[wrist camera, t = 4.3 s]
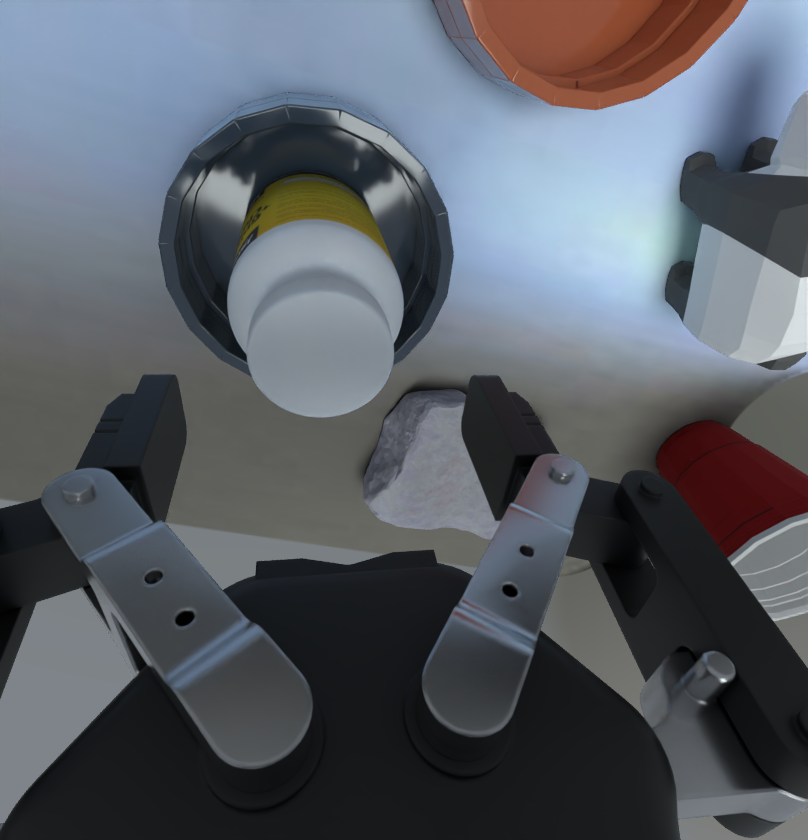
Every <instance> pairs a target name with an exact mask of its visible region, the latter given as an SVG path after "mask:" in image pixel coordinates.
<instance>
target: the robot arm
mask: <svg viewBox="0 0 808 840" xmlns="http://www.w3.org/2000/svg"><path fill="white" fill-rule="evenodd" d="M461 433H462V438H463V441H464V443H465V446H466V448H467V451H468V453H469V456H470V459H471V461H472V464H473V466H474V469H475V471H476V474H477V476H478V479H479V481H480V484H481V486H482V489H483V491H484V494H485V496H486V499H487V501H488V504H489V507H490V509H491V512H492V514H493V517H494V519H495V521H501V522H500V524H499V526H498V528H497V530H496V532H495V534H494V536H493V537H492V539H491V541H490V543H489V545H488V547H487V549H486V551H485V553H484V555H483V557H482V559H481V561H480V563H479V565H478V567H477V569H476V571H475V573H474V575H473V576H472V575H470V574H468V573H466V572H464V571H462V570H460V569H457V568H455V567H452V566H448V565H444V564H440V563H437V561H436V557H435V553H434V550H422V551H407V552H392V553H389V554H386V555H382V556H379V557H375V558H372V559H369V560H366V561H362V562H359V563H355V564H351V565H343V564H336V563H330V562H323V561H316V560H308V559H288V560H272V561H257V563H256V575H255V576H253V577H249V578H247V579H244V580H242V581H239V582H237V583H235V584H233V585H231V586H229V587H227V588H226V589H224V590H222V589H221V588H220V587H219V585H218V584H217V583H216V582H215V581H214V580H213V578H212V577H211V576H210V575H209V574H208V573H207V571H206V570H205V569H204V568H203V567H202V565H201V564H200V563H199V562H198V561H197V559H196V558H195V557H194V556H193V555H192V554H191V552H190V551H189V550H188V549H187V548H186V547H185V545H184V544H183V543H182V542H181V541H180V539H178V537H177V536H176V535H175V534H174V532H173V531H172V530H171V529H170V528H169V527H168V525H167V524H166V523H165V520H166V516H167V513H168V509H169V505H170V501H171V498H172V494H173V490H174V486H175V483H176V479H177V475H178V471H179V468H180V464H181V460H182V456H183V453H184V449H185V445H186V436H187V430H186V420H185V415H184V410H183V405H182V399H181V394H180V389H179V384H178V380H177V377H176V375H143V376H142V378H141V380H140V383H139V385H138V387H137V390H136V392H135V394H121V395H120V396H119V397H117V398H116V399H115V400H114V401H112V402H111V403H110V404H109V405H107V407H106V409H105V411H104V413H103V415H102V417H101V419H100V422H99V423H98V425H97V427H96V429H95V433H93V435H92V437H91V439H90V441H89V443H88V445H87V447H86V449H85V451H84V453H83V455H82V457H81V459H80V461H79V463H78V465H77V467H76V469H75V470H74V471H71V472H68V473H66V474H64V475H62V476H60V477H58V478H56V479H55V480H54V481H52V482H51V483H50V484H49V485H48V486H47V487H46V488H45V490H44V491H43V494H42V497H41V498H39V499H36V500H33V501H29V502H25V503H21V504H18V505H13V506H9V507H5V508H1V509H0V698H1V695H2V693H3V690H4V687H5V684H6V682H7V679H8V677H9V674H10V671H11V669H12V666H13V663H14V661H15V658H16V655H17V653H18V650H19V648H20V645H21V642H22V639H23V636H24V634H25V632H26V629H27V626H28V623H29V621H30V618H31V616H32V613H33V610H34V607H35V605H36V602H38V601H41V600H45V599H48V598H51V597H54V596H57V595H60V594H63V593H66V592H70V591H72V590H76V589H79V588H81V590H82V592H83V593H84V595H85V596H86V598H87V600H88V601H89V603H90V604H91V606H92V607H93V609H94V611H95V612H96V614H97V615H98V617H99V619H100V620H101V622H102V623H103V625H104V627H105V628H106V630H107V631H108V633H109V634H110V636H111V638H112V639H113V641H114V642H115V644H116V646H117V648H118V649H119V651H120V653H121V655H122V657H123V659H124V661H125V663H126V664H127V666H128V668H129V670H130V672H131V673H132V675H133V677H134V679H133V680H132V681H131V682H130V683H129V684H128V685H127V686H126V687H125V688H124V689H123V690H122V691H121V692H120V693H119V694H118V696H116V697H115V698H114V699H113V700H112V702H111V703H110V704H109V705H108V706H107V707H106V708H105V709H104V710H103V711H102V712H101V713H100V714H99V715H98V716H97V717H96V718H95V719H94V720H93V721H92V722H91V723H90V724H89V726H88V727H87V728H86V729H85V730H84V731H83V732H82V733H81V734H80V735H79V736H78V737H77V738H76V739H75V740H74V741H73V742H72V743H71V744H70V745H69V746H68V747H67V748H66V749H65V751H64V752H63V753H62V754H61V755H60V756H59V757H58V758H57V759H56V760H55V761H54V762H53V763H52V764H51V765H50V766H49V767H48V768H47V769H46V770H45V771H44V772H43V773H42V775H41V776H40V777H39V778H38V779H37V780H36V781H35V782H34V783H33V784H32V786H30V787H29V789H28V790H27V791H26V792H25V793H24V795H23V796H22V797H21V799H20V800H19V801H18V803H17V804H16V806H15V807H14V808H13V810H12V811H11V813H10V815H9V816H8V818H7V820H6V821H5V823H1V824H0V840H680V833H679V826H678V819H689V818H699V817H709V816H713V817H714V818H715V819H716V820H717V821H718V822H719V823H720V824H722V825H723V826H724V827H725V828H727V829H728V830H730V831H732V832H733V833H735V834H738V835H740V836H744V837H748V838H755V837H759V836H762V835H764V834H765V833H767V832H769V831H770V830H772V829H774V828H775V827H777V826H778V825H780V824H782V823H783V822H785V821H787V820H788V819H790V818H792V817H793V816H795V815H797V814H798V813H800V812H802V811H803V810H805V809H807V808H808V668H807V667H806V665H805V664H804V662H803V661H802V660H801V659H800V657H799V656H798V654H797V653H796V652H795V650H794V649H793V648H792V646H791V645H790V644H789V642H788V641H787V639H786V638H785V637H784V635H783V634H782V632H781V631H780V630H779V628H778V627H777V626H776V624H775V623H774V622H773V620H772V619H771V617H770V616H769V615H768V613H767V612H766V611H765V609H764V608H763V607H762V605H761V604H760V602H759V601H758V600H757V598H756V597H755V596H754V594H753V593H752V592H751V590H750V589H749V587H748V586H747V585H746V583H745V582H744V581H743V579H742V578H741V577H740V575H739V574H738V572H737V571H736V570H735V568H734V567H733V566H732V564H731V563H730V562H729V560H728V559H727V557H726V556H725V555H724V553H723V552H722V551H721V549H720V548H719V547H718V545H717V544H716V542H715V541H714V540H713V538H712V537H711V536H710V534H709V533H708V532H707V530H706V529H705V527H704V526H703V525H702V523H701V522H700V521H699V519H698V518H697V517H696V515H695V514H694V512H693V511H692V510H691V508H690V507H689V506H688V504H687V503H686V502H685V500H684V499H683V497H682V496H681V495H680V493H679V492H678V491H677V489H676V488H675V487H674V486H673V485H672V484H671V483H670V482H668V481H667V480H666V479H664V478H662V477H660V476H658V475H656V474H654V473H651V472H647V471H640V470H636V471H630V472H628V473H626V474H625V475H624V476H623V478H622V480H621V482H620V484H618V483H613V482H608V481H603V480H598V479H594V478H590V477H589V475H588V472H587V471H586V469H585V468H584V467H583V466H582V465H581V464H580V463H578V462H577V461H576V460H574V459H572V458H570V457H567V456H564V455H560V454H559V452H558V451H557V449H556V447H555V446H554V444H553V442H552V441H551V439H550V437H549V436H548V434H547V433H546V431H545V429H544V428H543V426H542V425H541V423H540V421H539V419H538V418H537V416H535V413H534V411H533V409H532V408H531V406H530V405H529V403H528V402H527V401H526V400H525V399H523V398H522V397H521V396H520V395H518V394H517V393H516V392H508V391H507V389H506V387H505V385H504V384H503V382H502V380H501V378H500V377H499V376H497V375H474V376H472V377H471V379H470V382H469V386H468V391H467V395H466V400H465V405H464V410H463V414H462V419H461ZM565 556H571V557H575V558H580V559H585V560H589V562H590V565H591V567H592V569H593V571H594V573H595V575H596V577H597V579H598V582H599V583H600V586H601V588H602V590H603V592H604V594H605V596H606V599H607V601H608V603H609V605H610V607H611V609H612V611H613V613H614V616H615V617H616V620H617V622H618V624H619V626H620V628H621V631H622V632H623V635H624V637H625V639H626V641H627V643H628V645H629V648H630V649H631V652H632V654H633V656H634V658H635V660H636V662H637V664H638V667H639V669H640V671H641V673H642V675H643V677H644V679H645V682H646V684H645V685H644V686H643V688H642V690H641V693H640V704H641V708H642V711H643V715H644V717H643V716H642V715H641V714H640V713H639V712H638V711H637V710H636V709H635V708H634V707H633V706H632V705H631V704H630V703H629V702H627V701H626V700H625V699H624V698H623V697H622V696H620V695H619V694H618V693H616V692H615V691H614V690H613V689H612V688H611V687H609V686H608V685H607V684H606V683H604V682H603V681H602V680H601V679H600V678H598V677H597V676H596V675H595V674H593V673H592V672H591V671H590V670H589V669H587V668H586V667H585V666H584V665H583V664H581V663H580V662H579V661H578V660H576V659H575V658H574V657H573V656H571V655H570V654H569V653H568V652H567V651H565V650H564V649H563V648H562V647H560V646H559V645H558V644H557V643H556V642H554V641H553V640H552V639H551V638H550V637H548V636H547V635H546V634H545V633H543V632H542V631H541V627H542V624H543V621H544V618H545V614H546V612H547V609H548V606H549V603H550V600H551V597H552V594H553V591H554V588H555V585H556V583H557V580H558V577H559V574H560V571H561V568H562V565H563V562H564V559H565ZM648 557H649V559H650V561H651V562H652V564H653V566H654V567H653V566H652V564H651V562H650V561H649V559H648ZM654 568H655V569H654Z"/></svg>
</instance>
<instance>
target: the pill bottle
mask: <svg viewBox="0 0 808 840" xmlns="http://www.w3.org/2000/svg"><path fill="white" fill-rule="evenodd" d="M227 308H228V316H229V321H230V325H231V328H232V331H233V333H234V335H235V337H236V340H237V342H238V343H239V345H240V346H241V348H242V349H243V351H244V352H245V353H246V355H247V362H248V366H249V370H250V373H251V376H252V378H253V380H254V382H255V383H256V385H257V386H258V388H259V389H260V390H261V392H262V393H263V394H264V395H265V396H266V397H267V398H268V399H270V400H271V401H272V402H273V403H275V404H276V405H278V406H280V407H281V408H283V409H285V410H287V411H290V412H292V413H295V414H299V415H303V416H308V417H333V416H338V415H342V414H346V413H349V412H351V411H354V410H356V409H358V408H360V407H361V406H363V405H365V404H366V403H368V402H369V401H370V400H372V399H373V398H374V397H375V396H376V395H377V394H378V393H379V392H380V390H381V389H382V388H383V386H384V385H385V383H386V381H387V380H388V378H389V376H390V373H391V370H392V366H393V361H394V342H395V340H396V339H397V336H398V333H399V331H400V328H401V324H402V319H403V310H404V300H403V292H402V287H401V283H400V280H399V277H398V274H397V271H396V269H395V266H394V264H393V262H392V259H391V257H390V254H389V252H388V249H387V247H386V245H385V242H384V240H383V237H382V235H381V233H380V231H379V228H378V226H377V224H376V222H375V219H374V217H373V215H372V212H371V211H370V209H369V207H368V206H367V204H366V202H365V201H364V200H363V198H362V197H361V196H360V195H359V194H358V193H357V192H356V191H355V190H354V189H353V188H352V187H350V186H349V185H348V184H346V183H345V182H343V181H341V180H340V179H338V178H335V177H333V176H331V175H328V174H324V173H320V172H313V171H301V172H293V173H289V174H286V175H283V176H281V177H279V178H277V179H275V180H273V181H272V182H270V183H269V184H268V185H266V186H265V187H264V188H263V189H262V190H261V191H260V192H259V193H258V194H257V195H256V197H255V198H254V199H253V201H252V202H251V204H250V206H249V208H248V210H247V212H246V215H245V219H244V222H243V227H242V232H241V236H240V240H239V245H238V249H237V254H236V258H235V262H234V265H233V270H232V273H231V277H230V282H229V287H228V296H227Z"/></svg>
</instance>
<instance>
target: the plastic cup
mask: <svg viewBox="0 0 808 840" xmlns="http://www.w3.org/2000/svg"><path fill="white" fill-rule="evenodd" d="M657 468H658V470H659V474H660V476H661V477H662V478H664V479H666V480H667V481H668V482H670V483H671V484H672V485H673V486H674V487H675V488H676V489H677V491H678V492H679V493H680V495H681V496H682V497H683V499H684V500H685V502H686V503H687V504H688V506H689V507H690V508H691V510H692V511H693V512H694V514H695V515H696V517H697V518H698V519H699V521H700V522H701V523H702V525H703V526H704V527H705V529H706V530H707V532H708V533H709V534H710V536H711V537H712V538H713V540H714V541H715V542H716V544H717V545H718V547H719V548H720V549H721V551H722V552H723V553H724V555H725V556H726V557H727V559H728V560H729V562H730V563H731V564H732V566H733V567H734V568H735V570H736V571H737V572H738V574H739V575H740V577H741V578H742V579H743V581H744V582H745V583H746V585H747V586H748V587H749V589H750V590H751V592H752V593H753V594H754V596H755V597H756V598H757V600H758V601H759V602H760V604H761V605H762V607H763V608H764V609H765V611H766V612H767V613H768V615H769V616H770V617H771V619H772V620H773V621H777V620H781V619H786V618H789V617H793V616H797V615H800V614H804V613H808V476H807V475H806V474H804V473H802V472H801V471H799V470H798V469H796V468H795V467H793V466H792V465H790V464H788V463H787V462H785V461H784V460H782V459H781V458H779V457H777V456H775V455H774V454H773V453H771V452H769V451H768V450H766V449H765V448H763V447H762V446H760V445H757V444H754V443H753V442H751V441H749V440H748V439H746V438H745V437H743V436H742V435H740V434H739V433H737V432H735V431H734V430H732V429H731V428H729V427H726V426H724V425H722V424H720V423H717V422H714V421H701V422H696V423H694V424H691V425H688V426H686V427H684V428H682V429H681V430H679V431H678V432H676V433H675V434H673V435H672V436H671V437H670V438H669V439H668V440H667V441H666V442H665V443H664V444H663V445H662V447H661V449H660V451H659V453H658V455H657Z"/></svg>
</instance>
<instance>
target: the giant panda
mask: <svg viewBox="0 0 808 840" xmlns="http://www.w3.org/2000/svg"><path fill="white" fill-rule="evenodd" d="M680 189H681V202H683V203H684V204H686V205H687V206H689V207H690V208H691V209H692V210H694V211H695V213H696V214H697V216H698V218H699V219H700V221H701V222H702V229H701V234H700V239H699V243H698V248H697V253H696V258H695V263H694V265H693V263H692V262H684V261H682V262H680V263H678V264H676V265H674V266H673V267H672V268H671V270H670V273H669V276H668V280H667V285H666V301H667V302H668V303H669V304H670V305H671V306H672V307H673V308H674V309H675V311H676V312H677V313H678V314H679V316H680V318H681V320H682V322H683V324H684V325H685V326H686V327H687V329H688V330H689V331H690V332H691V333H692V334H693V335H694V336H695V337H696V338H697V340H699V341H700V342H702V343H704V344H706V345H708V346H709V347H711V348H713V349H715V350H716V351H718V352H720V353H722V354H723V355H725V356H727V357H730V358H734V359H738V360H741V361H745V362H749V363H752V364H757V365H760V366H762V367H765V368H767V369H770V370H786V369H787V368H789V367H791V366H792V365H794V364H796V363H797V362H798V361H799V360H800V359H802V358H803V357H804V356H805V355H806V352H808V91H806V92H804V93H803V94H802V95H801V97H800V98H799V99H798V101H797V102H796V103H795V104H794V106H793V107H792V110H791V112H790V114H789V117H788V119H787V121H786V123H785V126H784V128H783V130H782V133H781V135H780V137H779V140H778V141H777V140H776V139H773V138H767V137H763V138H761V139H759V140H757V141H755V142H753V143H752V144H751V145H750V147H749V149H748V152H747V154H746V157H745V161H744V164H743V168H742V171H741V172H723V171H722V170H721V169H719V168H718V167H717V166H716V162H715V157H714V155H712V154H711V153H705V152H698V153H696V154H694V155H692V156H690V157H689V158H687V160H686V163H685V166H684V169H683V174H682V180H681V185H680Z"/></svg>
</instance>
